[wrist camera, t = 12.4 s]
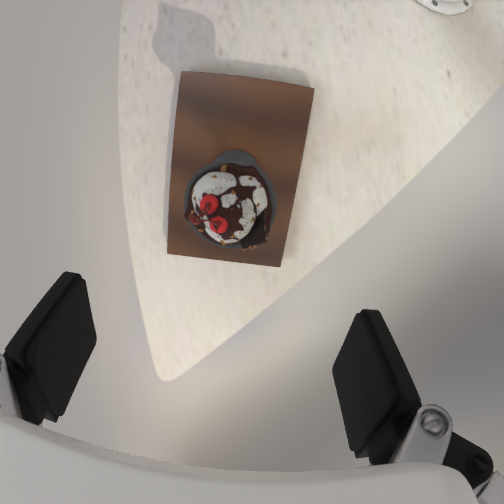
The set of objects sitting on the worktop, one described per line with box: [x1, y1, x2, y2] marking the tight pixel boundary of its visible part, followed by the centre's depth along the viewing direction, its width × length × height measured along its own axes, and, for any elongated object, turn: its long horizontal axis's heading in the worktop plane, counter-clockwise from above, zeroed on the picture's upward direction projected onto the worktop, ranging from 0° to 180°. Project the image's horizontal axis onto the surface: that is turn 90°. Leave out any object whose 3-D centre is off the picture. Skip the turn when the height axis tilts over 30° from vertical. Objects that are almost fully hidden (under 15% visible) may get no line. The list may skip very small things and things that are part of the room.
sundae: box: [183, 150, 277, 251], centre depth 24 cm, size 7×7×15 cm
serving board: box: [167, 71, 314, 267], centre depth 31 cm, size 20×13×2 cm, turn 172°
